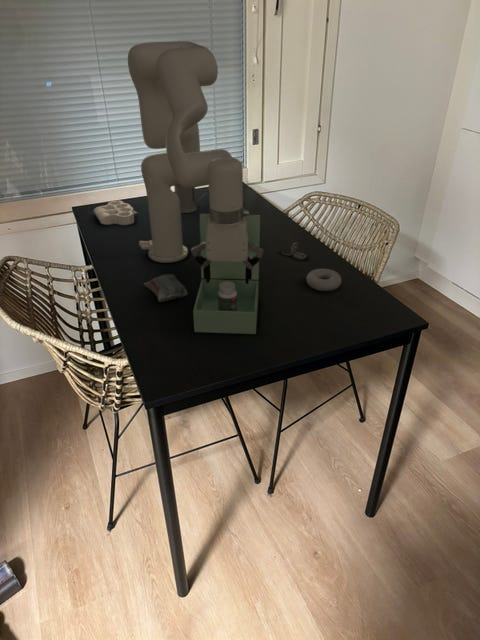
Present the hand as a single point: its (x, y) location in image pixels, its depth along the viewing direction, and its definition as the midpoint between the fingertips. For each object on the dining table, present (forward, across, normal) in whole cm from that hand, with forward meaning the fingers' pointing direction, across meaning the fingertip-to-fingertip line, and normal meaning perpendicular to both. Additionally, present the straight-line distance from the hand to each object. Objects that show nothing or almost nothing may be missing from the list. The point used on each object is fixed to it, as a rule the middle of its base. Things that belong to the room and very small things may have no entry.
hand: (227, 280), depth 122 cm
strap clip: (+10, -18, -37) cm, 43 cm away
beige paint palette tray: (+9, +47, -66) cm, 82 cm away
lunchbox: (+10, 0, 0) cm, 10 cm away
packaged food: (+10, +18, -9) cm, 23 cm away
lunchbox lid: (-5, 0, -9) cm, 10 cm away
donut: (+10, -26, -18) cm, 33 cm away
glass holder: (+10, +20, -76) cm, 80 cm away
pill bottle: (+10, 0, 0) cm, 10 cm away
